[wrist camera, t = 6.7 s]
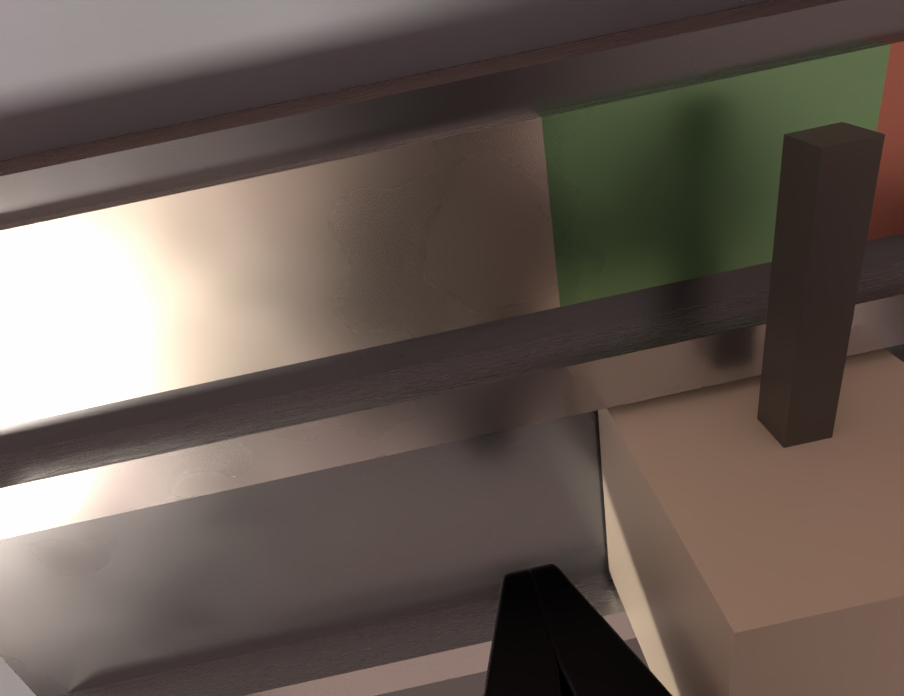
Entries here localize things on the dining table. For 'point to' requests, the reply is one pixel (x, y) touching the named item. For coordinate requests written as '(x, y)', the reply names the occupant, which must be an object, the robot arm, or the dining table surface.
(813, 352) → the cube with stick handle
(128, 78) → the dining table surface
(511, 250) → the bench gauge
